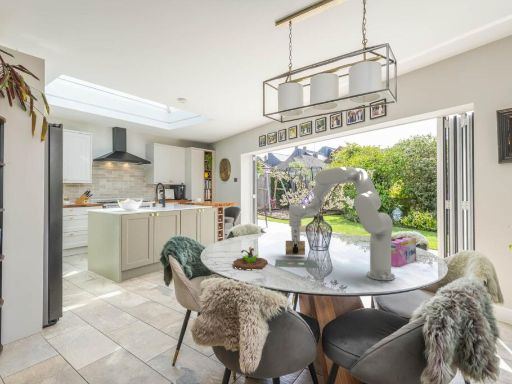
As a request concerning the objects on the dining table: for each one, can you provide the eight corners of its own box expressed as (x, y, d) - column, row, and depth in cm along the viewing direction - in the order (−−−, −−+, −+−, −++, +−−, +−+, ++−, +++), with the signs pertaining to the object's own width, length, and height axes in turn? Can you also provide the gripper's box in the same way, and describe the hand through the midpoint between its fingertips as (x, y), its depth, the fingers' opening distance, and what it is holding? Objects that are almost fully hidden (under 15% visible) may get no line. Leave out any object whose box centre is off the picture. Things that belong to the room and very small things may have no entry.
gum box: (404, 257, 171) (404, 236, 170) (417, 260, 164) (417, 237, 164) (383, 264, 157) (383, 240, 156) (397, 267, 150) (397, 242, 150)
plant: (230, 270, 148) (229, 250, 148) (235, 261, 167) (235, 242, 167) (267, 271, 146) (266, 250, 146) (268, 261, 166) (268, 243, 166)
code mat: (318, 268, 150) (318, 267, 150) (274, 266, 153) (274, 266, 153) (315, 260, 165) (315, 260, 165) (275, 259, 168) (275, 259, 168)
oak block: (305, 255, 169) (305, 242, 169) (285, 254, 171) (285, 242, 171) (304, 253, 174) (304, 240, 174) (285, 252, 176) (285, 240, 176)
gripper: (301, 225, 163) (301, 256, 164) (300, 222, 180) (300, 249, 181) (289, 225, 164) (289, 255, 165) (289, 222, 181) (289, 249, 182)
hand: (295, 252), depth 173 cm, fingers closed on oak block, 5 cm apart
